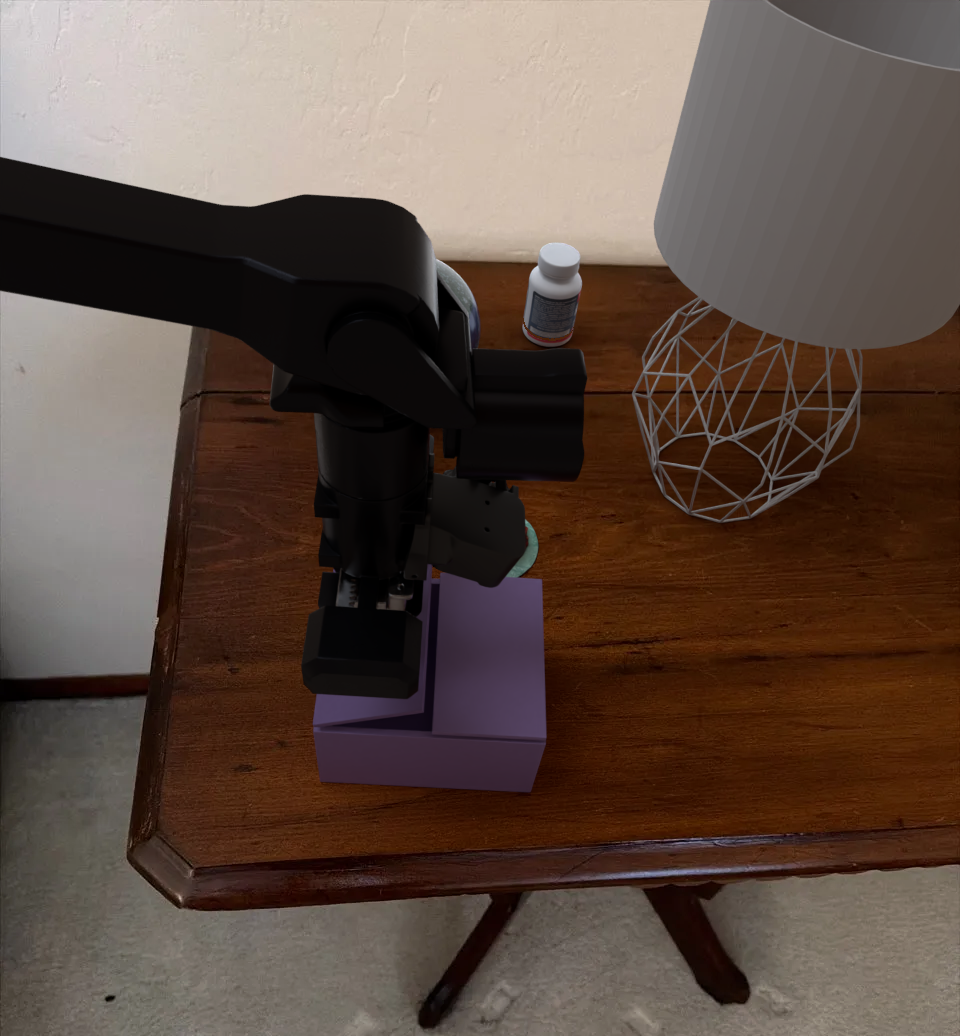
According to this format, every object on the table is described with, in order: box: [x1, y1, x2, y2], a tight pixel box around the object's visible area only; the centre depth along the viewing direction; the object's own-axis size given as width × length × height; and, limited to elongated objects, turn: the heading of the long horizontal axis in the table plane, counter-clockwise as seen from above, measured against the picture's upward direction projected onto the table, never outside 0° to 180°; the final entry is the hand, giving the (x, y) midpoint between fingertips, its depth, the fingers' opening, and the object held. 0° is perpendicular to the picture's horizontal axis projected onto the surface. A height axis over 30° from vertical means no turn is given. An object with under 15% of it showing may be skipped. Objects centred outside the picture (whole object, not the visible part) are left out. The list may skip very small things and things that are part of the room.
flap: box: [312, 564, 433, 728], centre depth 60 cm, size 7×13×1 cm, turn 0°
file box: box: [312, 572, 547, 793], centre depth 65 cm, size 15×13×8 cm
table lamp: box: [631, 0, 960, 524], centre depth 68 cm, size 22×22×40 cm
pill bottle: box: [522, 242, 583, 348], centre depth 91 cm, size 5×5×9 cm
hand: (375, 630), depth 60 cm, fingers closed
